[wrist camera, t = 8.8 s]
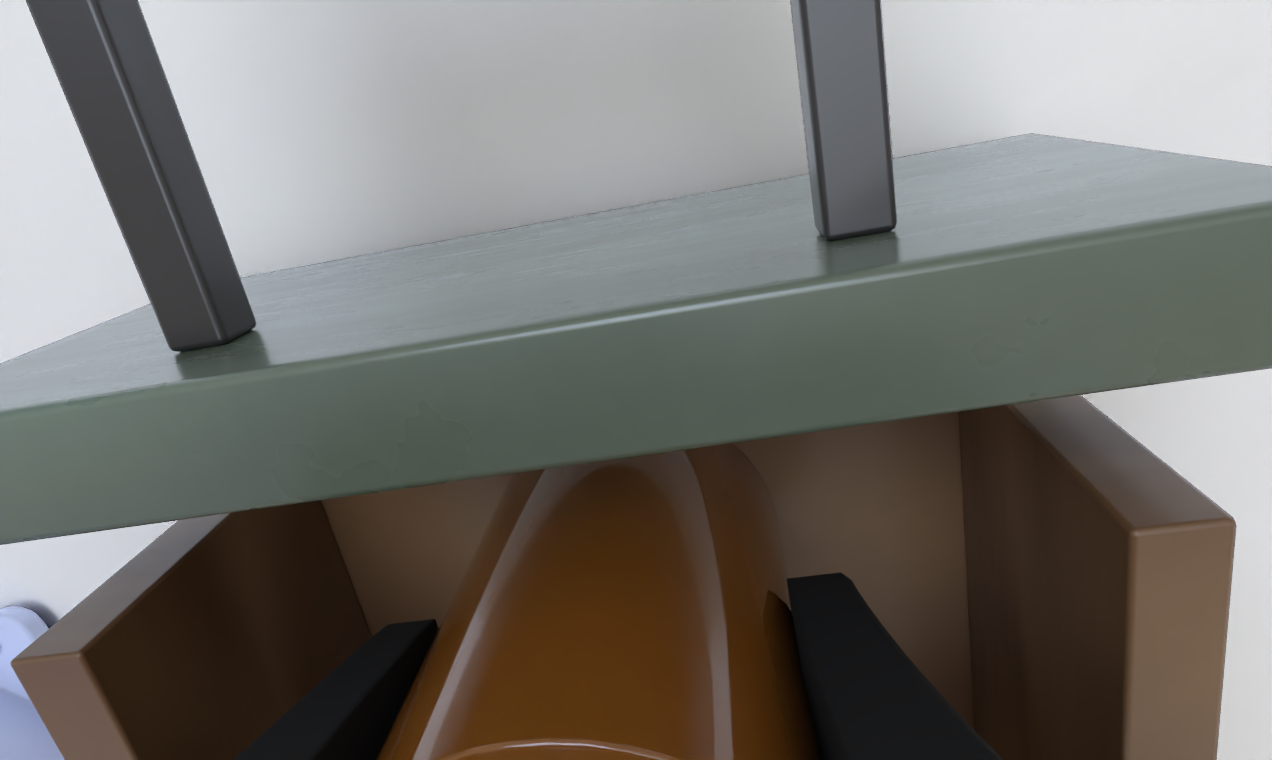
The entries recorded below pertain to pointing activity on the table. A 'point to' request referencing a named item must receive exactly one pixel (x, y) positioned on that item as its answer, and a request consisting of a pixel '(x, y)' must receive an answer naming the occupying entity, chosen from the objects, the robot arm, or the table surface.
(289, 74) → the table surface
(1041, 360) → the rack drawer
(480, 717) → the glass bottle
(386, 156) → the table surface
